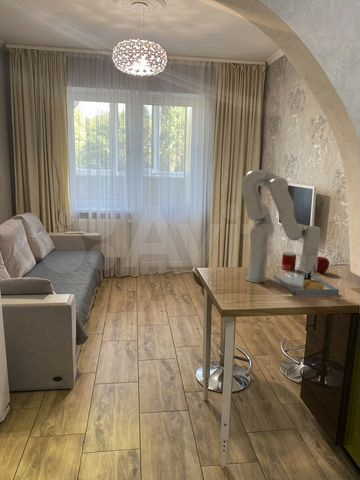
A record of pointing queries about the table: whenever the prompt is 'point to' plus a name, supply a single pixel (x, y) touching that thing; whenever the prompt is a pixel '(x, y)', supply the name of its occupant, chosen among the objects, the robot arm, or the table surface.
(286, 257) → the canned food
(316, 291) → the grey tray
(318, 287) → the block
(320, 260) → the apple
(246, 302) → the table surface
